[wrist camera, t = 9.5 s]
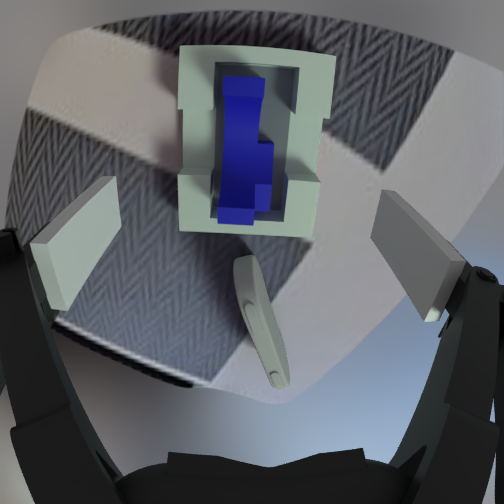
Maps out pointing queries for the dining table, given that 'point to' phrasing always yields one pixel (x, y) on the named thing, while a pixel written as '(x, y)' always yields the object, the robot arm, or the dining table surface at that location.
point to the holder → (270, 129)
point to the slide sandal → (261, 319)
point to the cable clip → (244, 153)
